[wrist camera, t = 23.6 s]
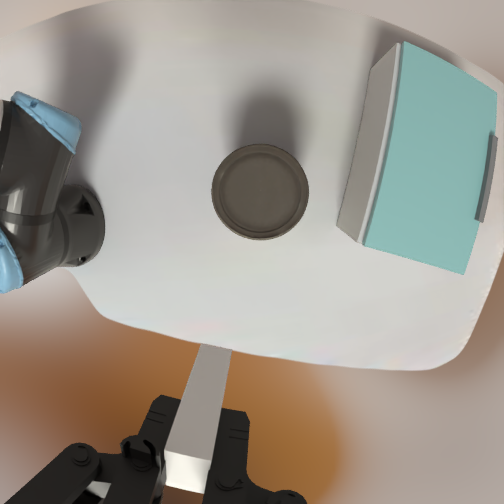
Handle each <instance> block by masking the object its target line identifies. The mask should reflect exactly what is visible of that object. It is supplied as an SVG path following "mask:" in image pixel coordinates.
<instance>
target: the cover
mask: <svg viewBox="0 0 504 504" xmlns="http://www.w3.org/2000/svg"><path fill="white" fill-rule="evenodd" d="M496 112H497V93H496V92H495V91H494V90H492V89H491V88H489V87H488V86H486V85H485V84H483V83H482V82H480V81H479V80H477V79H476V78H474V77H472V76H471V75H469V74H467V73H466V72H464V71H463V70H461V69H459V68H457V67H456V66H454V65H452V64H450V63H449V62H447V61H445V60H443V59H441V58H439V57H437V56H435V55H433V54H431V53H429V52H427V51H425V50H423V49H421V48H419V47H417V46H415V45H413V44H410V43H408V42H406V41H404V42H403V43H402V45H401V56H400V65H399V74H398V81H397V89H396V96H395V102H394V109H393V115H392V120H391V126H390V132H389V137H388V142H387V147H386V152H385V157H384V161H383V166H382V170H381V175H380V179H379V183H378V187H377V191H376V195H375V199H374V203H373V207H372V211H371V214H370V218H369V222H368V225H367V229H366V232H365V236H364V239H363V243H362V245H364V246H365V247H369V248H373V249H376V250H380V251H384V252H387V253H391V254H394V255H398V256H401V257H405V258H408V259H412V260H415V261H419V262H422V263H426V264H429V265H432V266H436V267H439V268H442V269H446V270H449V271H452V272H455V273H459V274H462V275H464V273H465V270H466V267H467V264H468V261H469V258H470V255H471V252H472V248H473V245H474V242H475V238H476V235H477V231H478V227H479V223H480V222H482V223H483V221H484V217H485V213H486V209H487V204H488V199H489V195H490V189H491V184H492V178H493V172H494V166H495V159H496V151H497V141H498V138H497V137H496V136H495V128H496Z"/></svg>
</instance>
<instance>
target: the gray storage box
mask: <svg viewBox="0 0 504 504" xmlns="http://www.w3.org/2000/svg"><path fill="white" fill-rule="evenodd" d="M401 45H402V44H399V43H396V44H395V45H394V46H393V47H392V48H391V49H390V50H389V51H388V52H387V53H386V54H385V55H384V56H383V57H382V58H381V59H380V60H379V61H378V62H377V63H376V64H375V65H374V66H373V67H372V68H371V69H370V74H369V81H368V87H367V92H366V98H365V103H364V109H363V114H362V119H361V124H360V129H359V134H358V139H357V144H356V148H355V153H354V157H353V162H352V166H351V170H350V174H349V179H348V183H347V187H346V191H345V195H344V199H343V203H342V207H341V210H340V214H339V218H338V222H337V225H336V226H337V227H338V228H340V229H341V230H342V231H343V232H345V233H346V234H347V235H348V236H350V237H351V238H352V239H353V240H354V241H356V242H357V243H360V244H362V243H363V239H364V236H365V232H366V229H367V225H368V222H369V218H370V214H371V211H372V207H373V203H374V199H375V195H376V191H377V187H378V183H379V179H380V175H381V170H382V166H383V161H384V157H385V152H386V147H387V142H388V137H389V132H390V126H391V120H392V115H393V109H394V102H395V96H396V89H397V81H398V74H399V65H400V56H401Z"/></svg>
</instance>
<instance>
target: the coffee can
mask: <svg viewBox="0 0 504 504" xmlns="http://www.w3.org/2000/svg"><path fill="white" fill-rule="evenodd" d="M211 194H212V202H213V206H214V209H215V211H216V213H217V215H218V217H219V218H220V220H221V221H222V222H223V224H224V225H225V226H226V227H227V228H229V229H230V230H231V231H232V232H234V233H235V234H237V235H239V236H242V237H244V238H248V239H252V240H269V239H274V238H277V237H279V236H282V235H284V234H285V233H287V232H288V231H290V230H291V229H292V228H293V227H294V226H295V225H296V224H297V223H298V222H299V221H300V219H301V218H302V216H303V214H304V212H305V210H306V207H307V203H308V197H309V186H308V181H307V178H306V175H305V173H304V171H303V169H302V167H301V165H300V164H299V163H298V161H297V160H296V159H295V158H294V157H293V156H292V155H290V154H289V153H288V152H286V151H284V150H282V149H280V148H278V147H275V146H272V145H267V144H253V145H248V146H245V147H242V148H240V149H237V150H235V151H234V152H232V153H231V154H230V155H228V156H227V157H226V158H225V159H224V160H223V161H222V163H221V164H220V165H219V167H218V169H217V170H216V173H215V175H214V178H213V182H212V189H211Z"/></svg>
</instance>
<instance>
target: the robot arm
mask: <svg viewBox="0 0 504 504" xmlns="http://www.w3.org/2000/svg"><path fill="white" fill-rule="evenodd" d="M81 130H82V126H81V122H80V121H79V119H78V118H77V117H75V116H73V115H71V114H69V113H67V112H64V111H62V110H60V109H58V108H56V107H54V106H51V105H49V104H47V103H45V102H43V101H40V100H38V99H36V98H34V97H31V96H29V95H27V94H24V93H22V92H20V91H16V92H15V93H14V95H13V96H12V97H11V101H5V100H0V293H7V292H9V291H11V290H14V289H18V288H20V287H22V286H23V285H25V284H27V283H28V282H30V281H32V280H34V279H35V278H37V277H39V276H41V275H43V274H44V273H46V272H48V271H50V270H52V269H53V268H55V267H77V266H81V265H83V264H85V263H87V262H89V261H90V260H92V259H93V258H94V257H95V256H96V255H97V254H98V252H99V251H100V249H101V246H102V244H103V240H104V234H105V223H104V216H103V213H102V210H101V207H100V205H99V203H98V201H97V199H96V198H95V196H94V195H93V194H92V193H91V192H90V191H89V190H87V189H86V188H84V187H82V186H80V185H64V182H65V179H66V176H67V173H68V170H69V167H70V164H71V161H72V158H73V155H75V153H76V150H75V149H76V146H77V143H78V140H79V137H80V134H81ZM231 353H232V350H231V349H226V348H221V347H216V346H211V345H206V344H202V343H201V346H200V349H199V352H198V354H197V357H196V360H195V363H194V365H193V369H192V371H191V374H190V377H189V380H188V382H187V385H186V388H185V391H184V394H183V397H182V399H181V400H180V399H176V398H172V397H168V396H164V395H160V396H159V397H158V398H156V399H155V400H154V401H153V402H152V404H151V407H150V409H149V412H148V413H147V415H146V418H145V420H144V422H143V424H142V427H141V429H140V431H139V433H138V435H134V436H129V437H127V438H125V439H124V440H123V441H122V442H121V443H120V446H121V451H122V453H120V454H106V453H97V451H96V450H95V449H94V448H93V447H92V446H90V445H87V444H85V443H75V444H71V445H70V446H68V447H67V448H65V449H64V450H63V451H62V452H61V453H60V454H59V455H58V456H57V457H56V458H55V459H53V460H52V461H51V462H50V463H49V464H48V465H47V466H46V467H45V468H43V469H42V470H41V471H40V472H39V473H38V474H37V475H36V476H35V477H34V478H32V479H31V480H30V481H29V482H28V483H27V484H26V485H25V486H24V487H22V488H21V489H20V490H19V491H18V492H17V493H16V494H15V495H13V496H12V497H11V498H10V499H9V500H8V501H7V502H6V503H4V504H161V503H162V499H163V489H164V486H165V482H166V485H168V486H172V487H176V488H180V489H184V490H189V491H194V492H199V493H203V494H204V496H203V502H202V504H307V502H306V500H305V499H304V497H303V496H302V495H300V494H299V493H297V492H294V491H291V490H281V491H277V492H272V491H269V490H266V489H263V488H261V487H259V486H257V485H255V484H254V483H253V482H252V481H251V480H250V479H249V477H248V475H247V471H246V466H247V453H248V439H249V426H250V425H249V424H250V421H249V419H248V417H247V414H246V412H243V411H236V410H230V409H225V408H221V407H222V402H223V396H224V391H225V385H226V380H227V374H228V369H229V364H230V358H231Z"/></svg>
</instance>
